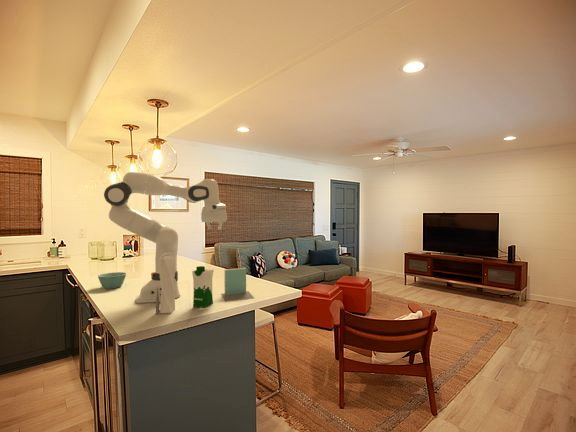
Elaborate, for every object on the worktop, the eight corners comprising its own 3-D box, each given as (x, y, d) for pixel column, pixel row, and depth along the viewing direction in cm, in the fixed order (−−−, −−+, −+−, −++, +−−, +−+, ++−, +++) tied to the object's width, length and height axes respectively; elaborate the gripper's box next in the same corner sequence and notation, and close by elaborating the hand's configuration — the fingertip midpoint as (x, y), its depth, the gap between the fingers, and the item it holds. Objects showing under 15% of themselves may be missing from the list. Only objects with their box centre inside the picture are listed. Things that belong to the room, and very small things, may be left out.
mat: (225, 302, 156) (225, 301, 156) (220, 294, 171) (220, 293, 171) (254, 299, 162) (254, 298, 162) (248, 292, 177) (248, 291, 177)
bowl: (105, 284, 197) (105, 272, 197) (130, 283, 199) (130, 271, 198) (92, 290, 181) (92, 277, 181) (120, 290, 183) (119, 276, 183)
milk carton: (190, 307, 149) (190, 267, 148) (201, 302, 157) (201, 264, 157) (205, 309, 146) (205, 268, 146) (215, 303, 154) (215, 265, 154)
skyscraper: (161, 309, 147) (161, 252, 146) (178, 309, 147) (177, 252, 147) (154, 315, 138) (154, 254, 138) (172, 314, 139) (172, 254, 139)
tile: (225, 294, 169) (225, 270, 169) (224, 293, 171) (224, 269, 171) (246, 292, 173) (246, 268, 173) (245, 291, 175) (245, 267, 175)
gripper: (197, 207, 180) (199, 230, 181) (219, 205, 167) (221, 230, 168) (206, 206, 185) (208, 228, 186) (227, 205, 172) (230, 228, 173)
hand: (214, 229), depth 177 cm, fingers open, 8 cm apart
